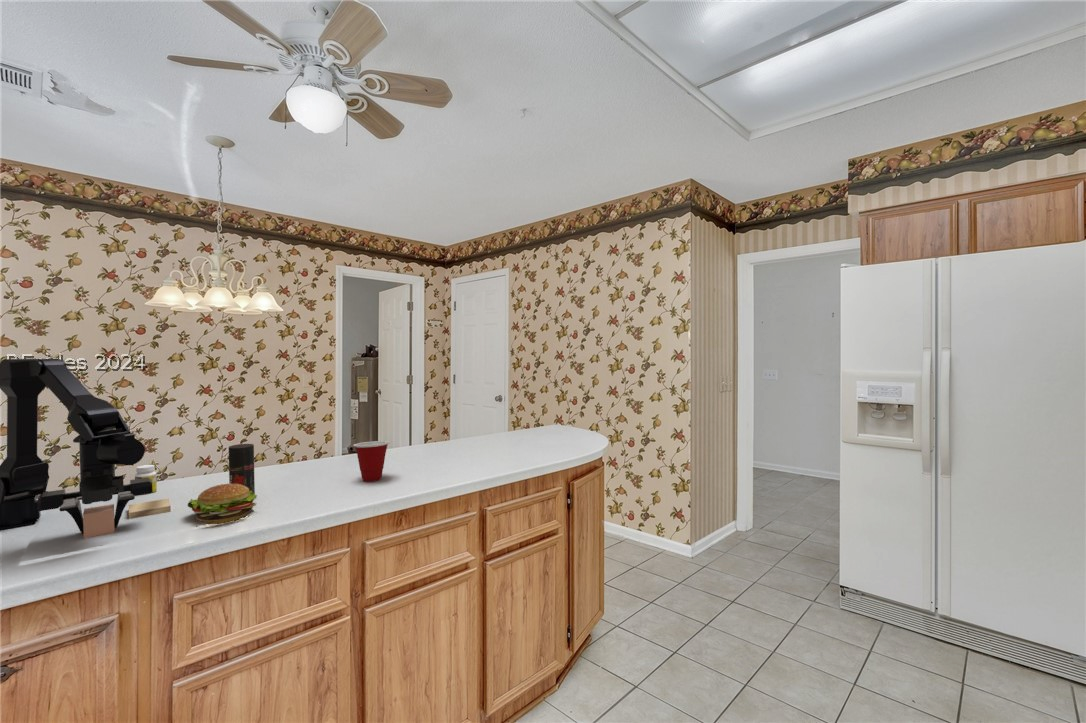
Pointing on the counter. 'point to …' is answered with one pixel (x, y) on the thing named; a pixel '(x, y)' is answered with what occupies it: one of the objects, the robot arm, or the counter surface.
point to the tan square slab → (149, 508)
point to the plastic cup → (371, 459)
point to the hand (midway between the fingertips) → (99, 530)
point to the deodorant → (242, 465)
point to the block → (98, 520)
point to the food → (223, 503)
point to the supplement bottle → (147, 474)
